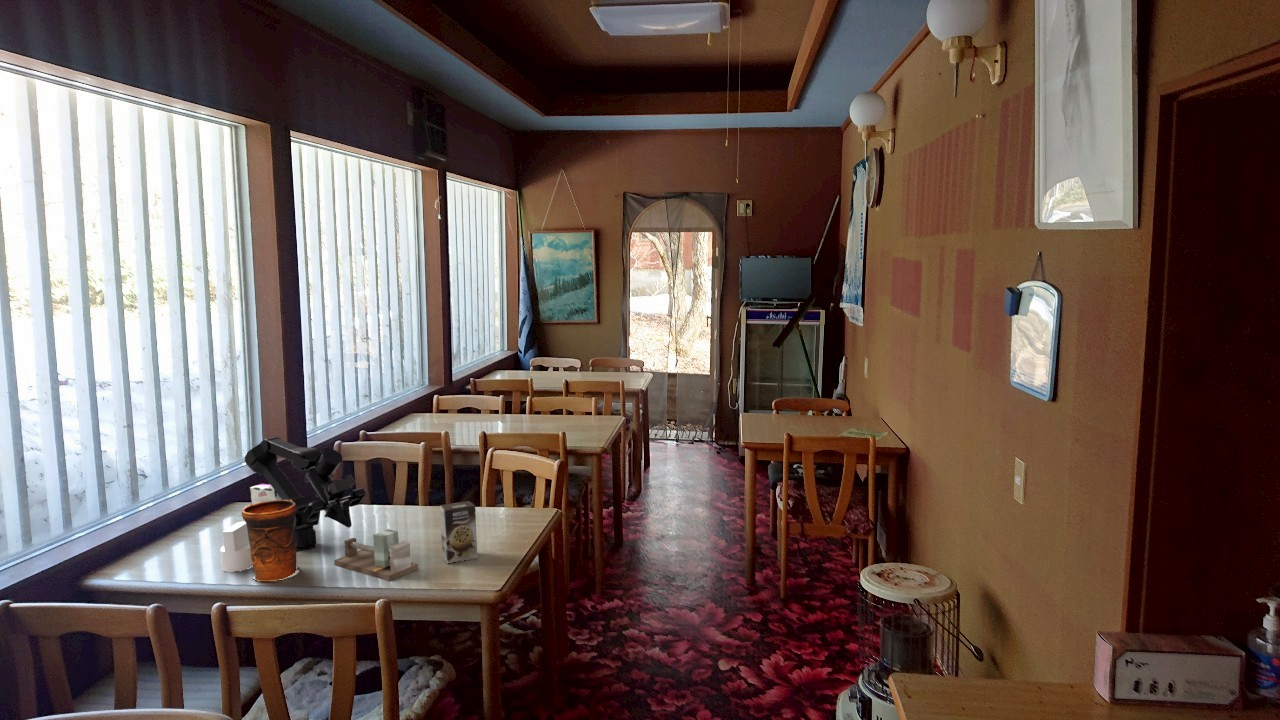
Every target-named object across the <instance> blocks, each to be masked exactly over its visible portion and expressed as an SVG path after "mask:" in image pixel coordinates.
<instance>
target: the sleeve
mask: <svg viewBox="0 0 1280 720" xmlns="http://www.w3.org/2000/svg"><path fill="white" fill-rule="evenodd" d="M372 536H373V537H372V539H373V547H374V556H375V566H379V567H382V568H386V567H388V566H390V557H389V556H388V552H390V550H389V547H390V546H393V545H395V544H398V543H400V542H399V531H398V530H394V529H389V528H388V529H384V530H382V531H379V532H376V533H374V534H372Z"/></svg>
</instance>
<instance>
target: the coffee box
mask: <svg viewBox="0 0 1280 720" xmlns="http://www.w3.org/2000/svg"><path fill="white" fill-rule="evenodd" d="M439 508H440V509H439V510H440V531H441V533H440V534H441V536H440V537H441V555H442V560H444V562H445V561H446V562H445V563H446V564H447V563H450V564H454V563H453V562H456V563H459V562H458V561H461V562H465V561H464V560H466V561H469V560H468V559H472V560H474V559H473V558H477V559H478V543H477V542H478V540H477V539H478V538H477V521H476V520H477V515H476V504H474V503H473V502H471V501H470V500H467V501H460V502H454V503H447V504H440V506H439Z"/></svg>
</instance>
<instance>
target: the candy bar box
mask: <svg viewBox="0 0 1280 720" xmlns="http://www.w3.org/2000/svg"><path fill="white" fill-rule="evenodd" d="M249 489H250V491H249V492H250V503H251V504H255V503H260V502H268V501H274V500H282V499H281V498H280V496H279V495H278V494H277V492H276V491H275V490H274V489H273V487H272V486H271V485H270V483H268V484H266V483H260V484H256V485H253V486H250V487H249ZM251 504H250V505H251Z"/></svg>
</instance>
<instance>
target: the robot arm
mask: <svg viewBox="0 0 1280 720" xmlns="http://www.w3.org/2000/svg"><path fill="white" fill-rule="evenodd" d="M278 457H280V458H283V459H285V460H288V461H290V462H291V466H292V467H294V468H295V469H297V470H298V471H300V472H301V471H306V470H307V471H308V470H309V471H308V472H305V477H304V483H309V482H310V484H311V486H312V487H313V490H314V491H315V494H314V496H315V498H319V499H318V500H314V499H313V497H312V496H311V495H305V496H303V495H301V494H300V493H299V491H298V490H297V489H296V487H295V486H294V485H293V483H292V482H291V481H290V479H289V478H288V477H287V475H286V474H285V473H284V472H283V471H282V469H281V468H280V467H279V465H278ZM342 462H343V455H342V454H341V453H340V452H339V451H338V450H335V449H331V448H330V446H326V447H325V446H324V447H322V449H321V450H319V448H316V447H311V446H310V447H308V446H307V447H300V446H297V445H296V444H293V443H290V442H289V441H286V440H284V439H282V438H281V437H279V436H273V437H267V438H264V439H263V440H261V441H260V443H258V444H257V445H255V446H254V447H252V448H251V449H250V450H248V451H247V453H246V454H245V456H244V463H245V464H246V465H247V466H248V468H250V469H251V471H252V472H254V473H257V474H260V475H262V476H263V477H264V478H265V479H266V481H267V482H268V484H269V485H271V486H272V487H273V489H274V490H275V491H276V492H277V494H278V495H279V496H280V498H281V499H282V500H290V501H293V502H295V503H296V505H297V513H296V515H295V520H294V531H295V537H296V541H297V551H302V549H303V550H309V549H314V548H316V544H317V534H316V533H317V532H316V529H315V528H314V526H318V525H319V521H320V516H321V512H323V511H324V512H325V514H324V518H329V519H331V520H333V521H334V522H335V521H336V522H338V523H339V524H341V525H343V526H345V527H346V528H347V529H348V528H351V527H352V518H351V514H350V508H353V507H355V506H358V505H360V504H361V503H362V502H363V500H364V499H365V497H366V496H367V495H368V493H367V490H366V489H365V488H363V487H357V488H355V489H352V488H353V487H352V486H354V485H355V484H356V481H355V478H354V477H353V476H352V474H349V475H345V476H344V477H343V478H342V479H340V480H338V479H334V480H333V477H332V475H333V474H334V473H335V472H336V471H337V469H338V468H339V466H340V464H341V463H342ZM349 489H350V490H351V491H350V492H349V493H348V495H346V494H347V491H348V490H349ZM344 495H345V496H344Z"/></svg>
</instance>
